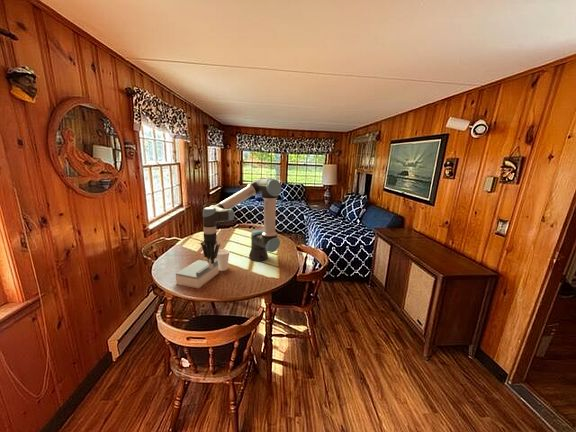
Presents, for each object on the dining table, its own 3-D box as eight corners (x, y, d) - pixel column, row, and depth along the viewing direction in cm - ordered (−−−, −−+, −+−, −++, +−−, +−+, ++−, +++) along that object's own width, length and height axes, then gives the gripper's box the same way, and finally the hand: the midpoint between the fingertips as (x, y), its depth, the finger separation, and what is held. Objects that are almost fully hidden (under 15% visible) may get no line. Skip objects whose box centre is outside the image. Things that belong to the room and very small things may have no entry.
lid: (218, 264, 163) (218, 259, 163) (198, 279, 143) (198, 273, 142) (198, 261, 167) (198, 256, 167) (175, 274, 147) (175, 269, 146)
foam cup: (213, 270, 169) (212, 252, 166) (221, 265, 177) (220, 248, 175) (224, 272, 166) (224, 255, 163) (232, 267, 174) (231, 250, 171)
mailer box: (218, 273, 165) (218, 265, 163) (198, 288, 144) (198, 279, 143) (198, 269, 169) (198, 261, 168) (176, 284, 148) (175, 275, 147)
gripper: (222, 232, 149) (223, 267, 154) (204, 229, 152) (205, 264, 157) (216, 235, 142) (216, 272, 147) (196, 232, 145) (198, 268, 150)
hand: (211, 268), depth 152 cm, fingers closed
